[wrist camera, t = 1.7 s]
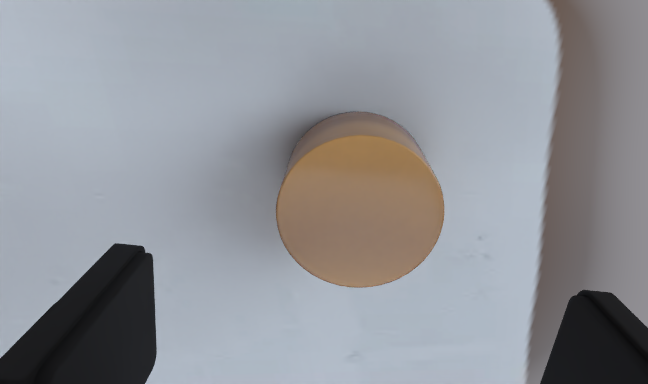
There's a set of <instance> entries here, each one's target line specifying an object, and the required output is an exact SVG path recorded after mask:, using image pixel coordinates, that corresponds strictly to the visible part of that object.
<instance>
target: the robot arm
mask: <svg viewBox="0 0 648 384" xmlns="http://www.w3.org/2000/svg"><path fill="white" fill-rule="evenodd" d="M155 360H156V325H155V299H154V274H153V257H152V254H150V253H145V249H144V247H143V246H137V245H127V244H114V245H113V246H112V247H111V248H110V249H109V250H108V251H107V252H106V253H105V254H104V255H103V256H102V257H101V258H100V259H99V260H98V261H97V262H96V263H95V264H94V265H93V266H92V267H91V268H90V269H89V270H88V271H87V272H86V273H85V274H84V275H83V276H82V277H81V278H80V279H79V280H78V281H77V282H76V283H75V284H74V285H73V286H72V287H71V288H70V289H69V290H68V291H67V292H66V294H65V295H64V296H63V297H62V298H61V299H60V300H59V301H58V302H56V303H55V304H54V305H53V306H52V307H51V308H50V309H49V310H48V311H47V312H46V313H45V314H44V315H43V316H42V317H41V318H40V319H39V320H38V321H37V322H36V323H35V324H34V325H33V326H32V327H31V328H30V329H29V330H28V331H27V332H26V333H25V334H24V335H23V336H22V337H21V338H20V339H19V340H18V341H17V342H16V343H15V344H14V345H13V346H12V347H11V348H10V349H9V350H8V351H7V352H6V353H5V354H4V355H3V356H2V357H1V358H0V384H145V383H146V381H147V379H148V377H149V375H150V373H151V371H152V369H153V367H154V364H155ZM540 384H648V328H647V327H646V326H645V325H644V324H643V323H642V322H641V321H640V320H639V319H638V318H637V317H636V316H635V315H634V314H633V313H632V312H631V311H630V310H629V309H628V308H627V307H626V306H625V305H624V304H623V303H622V302H621V301H620V300H619V299H618V298H617V297H616V296H615V295H613V294H612V293H608V292H599V291H589V290H582V291H580V292H579V293H578V294H577V296H573V297H571V299H570V300H569V302H568V305H567V308H566V311H565V314H564V317H563V320H562V323H561V325H560V328H559V331H558V334H557V337H556V340H555V343H554V346H553V349H552V351H551V354H550V357H549V360H548V363H547V366H546V369H545V372H544V375H543V377H542V380H541V383H540Z"/></svg>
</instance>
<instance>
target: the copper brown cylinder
mask: <svg viewBox="0 0 648 384" xmlns="http://www.w3.org/2000/svg"><path fill="white" fill-rule="evenodd" d="M276 220H277V226H278V230H279V233H280V237H281V239H282V241H283V243H284V245H285V247H286V249H287V250H288V252H289V253H290V255H291V256H292V257H293V258H294V259H295V261H296V262H297V263H298V264H299V265H301V266H302V267H303V268H304V269H305V270H307V271H308V272H309V273H311V274H312V275H314V276H316V277H318V278H320V279H322V280H324V281H327V282H329V283H333V284H336V285H340V286H346V287H372V286H378V285H382V284H385V283H389V282H392V281H394V280H396V279H399V278H401V277H402V276H404V275H406V274H408V273H409V272H411V271H412V270H413V269H415V268H416V267H417V266H418V265H419V264H420V263H421V262H422V261H424V259H425V258H426V257H427V256H428V255H429V253H430V252H431V250H432V249H433V247H434V246H435V244H436V242H437V240H438V238H439V235H440V232H441V229H442V226H443V220H444V200H443V194H442V191H441V187H440V184H439V182H438V180H437V178H436V176H435V174H434V172H433V171H432V169H431V167H430V165H429V163H428V162H427V160H426V158H425V156H424V155H423V153H422V151H421V149H420V147H419V146H418V144H417V143H416V141H415V140H414V138H413V137H412V136H411V135H410V134H409V133H408V132H407V131H406V130H405V129H404V128H403V127H402V126H400V125H399V124H397V123H396V122H394V121H392V120H390V119H388V118H386V117H384V116H381V115H377V114H373V113H368V112H348V113H342V114H338V115H335V116H332V117H329V118H327V119H325V120H323V121H321V122H319V123H318V124H316V125H315V126H313V127H312V128H311V129H310V130H309V131H308V132H306V133H305V134H304V136H303V137H302V138H301V139H300V140H299V142H298V143H297V145H296V147H295V148H294V150H293V152H292V155H291V157H290V160H289V163H288V166H287V169H286V172H285V175H284V178H283V181H282V184H281V187H280V191H279V194H278V198H277V205H276Z"/></svg>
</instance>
